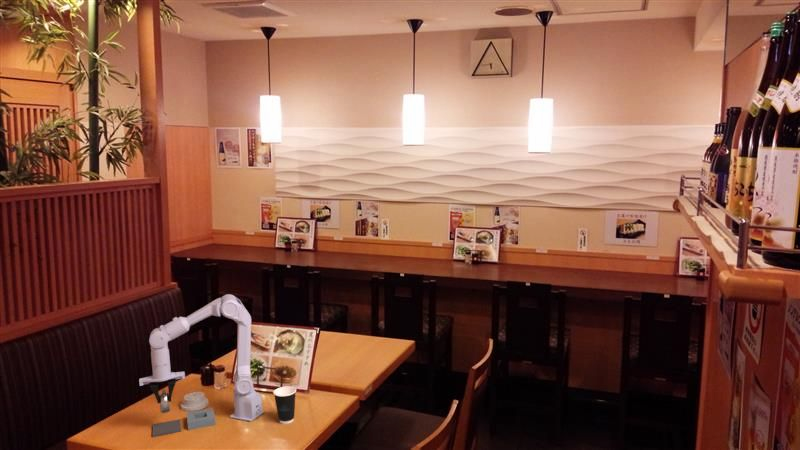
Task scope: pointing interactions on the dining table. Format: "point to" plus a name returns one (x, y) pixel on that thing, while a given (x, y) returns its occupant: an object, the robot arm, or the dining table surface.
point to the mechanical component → (194, 401)
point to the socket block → (200, 418)
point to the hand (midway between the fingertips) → (164, 401)
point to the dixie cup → (285, 403)
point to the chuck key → (164, 402)
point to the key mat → (166, 427)
